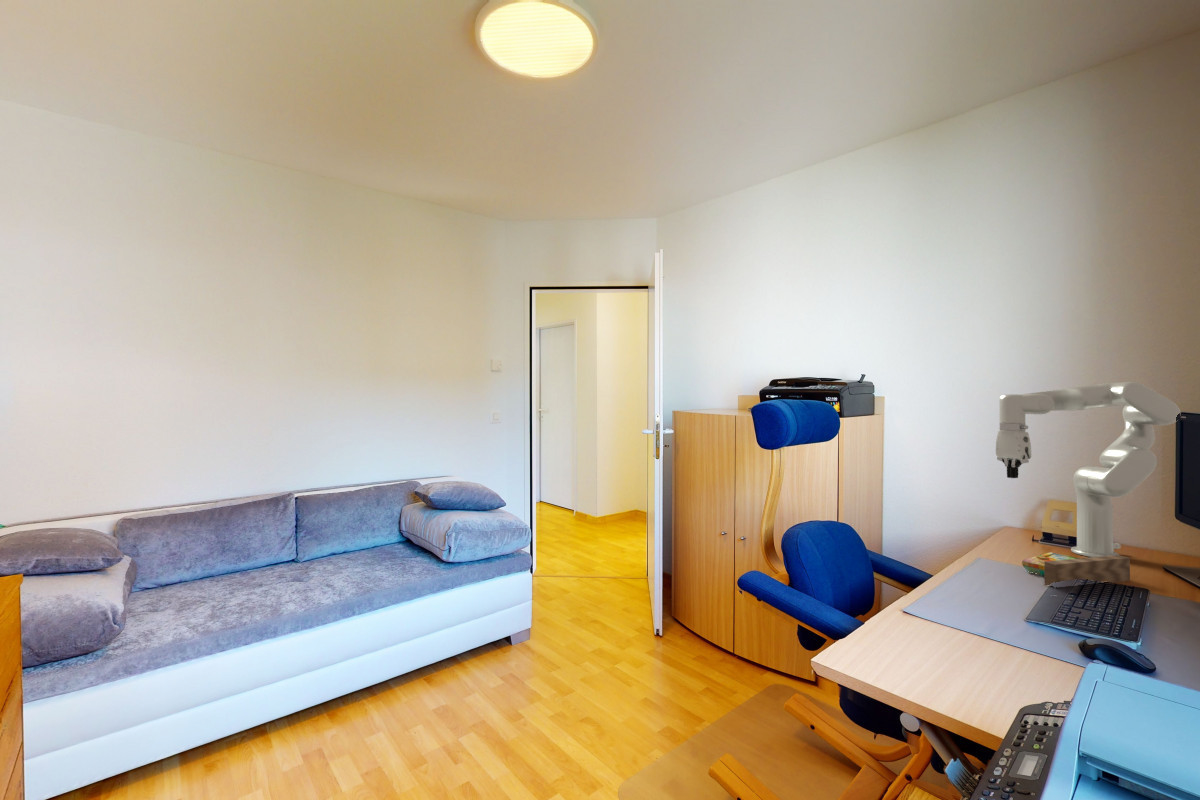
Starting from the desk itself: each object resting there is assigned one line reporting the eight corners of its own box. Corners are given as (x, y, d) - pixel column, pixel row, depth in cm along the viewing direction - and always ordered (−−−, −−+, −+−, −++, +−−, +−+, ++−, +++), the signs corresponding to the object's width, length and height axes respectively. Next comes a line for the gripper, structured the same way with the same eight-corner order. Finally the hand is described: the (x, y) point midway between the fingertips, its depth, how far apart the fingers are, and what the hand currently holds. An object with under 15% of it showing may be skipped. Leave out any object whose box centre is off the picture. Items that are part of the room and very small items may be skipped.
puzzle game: (1022, 558, 169) (1049, 549, 179) (1022, 572, 169) (1049, 563, 179) (1068, 568, 159) (1094, 558, 169) (1068, 583, 159) (1095, 573, 169)
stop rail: (1118, 577, 164) (1118, 555, 164) (1129, 580, 161) (1129, 557, 161) (1044, 585, 156) (1044, 561, 156) (1055, 588, 153) (1055, 564, 153)
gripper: (1041, 428, 186) (1041, 480, 186) (1000, 427, 201) (1000, 474, 201) (1025, 429, 185) (1025, 481, 184) (984, 427, 199) (985, 475, 199)
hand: (1012, 477), depth 193 cm, fingers closed
